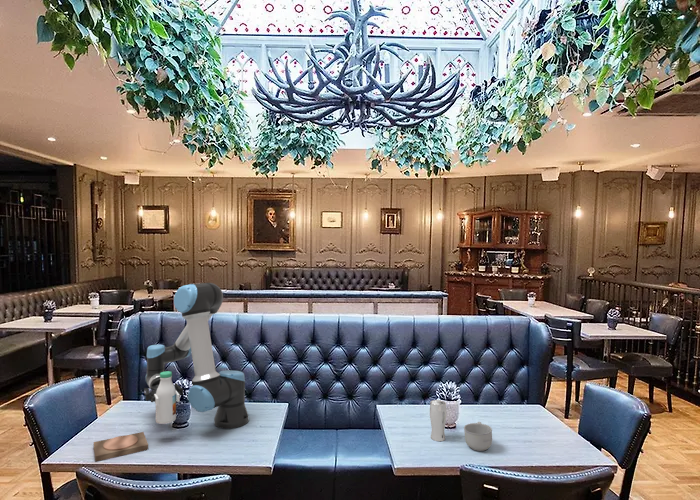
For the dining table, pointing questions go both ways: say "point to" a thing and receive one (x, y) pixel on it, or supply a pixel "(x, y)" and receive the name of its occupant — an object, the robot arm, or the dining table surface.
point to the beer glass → (438, 419)
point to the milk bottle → (166, 399)
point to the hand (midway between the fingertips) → (168, 400)
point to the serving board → (120, 446)
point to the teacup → (478, 436)
